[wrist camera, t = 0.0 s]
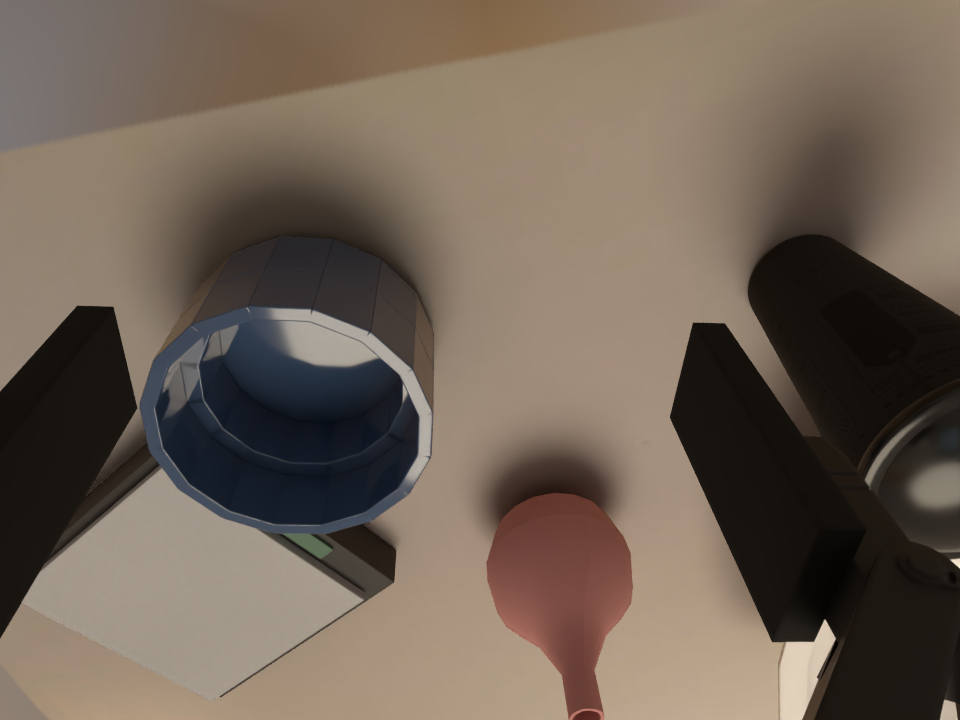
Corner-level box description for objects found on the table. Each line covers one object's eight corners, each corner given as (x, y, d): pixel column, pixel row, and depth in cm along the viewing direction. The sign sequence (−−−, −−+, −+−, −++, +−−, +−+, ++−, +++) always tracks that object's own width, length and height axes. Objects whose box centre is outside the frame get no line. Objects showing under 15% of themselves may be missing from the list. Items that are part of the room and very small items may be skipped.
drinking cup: (696, 342, 36) (930, 739, 19) (750, 193, 32) (1112, 526, 15) (839, 359, 37) (1186, 751, 20) (910, 217, 33) (1421, 553, 16)
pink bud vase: (474, 562, 43) (486, 765, 33) (492, 464, 39) (512, 660, 29) (600, 569, 44) (650, 769, 34) (631, 473, 40) (697, 667, 30)
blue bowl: (306, 179, 30) (274, 246, 24) (481, 348, 35) (489, 437, 29) (143, 335, 34) (81, 426, 28) (322, 469, 39) (301, 571, 33)
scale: (193, 402, 36) (174, 439, 33) (396, 549, 42) (394, 591, 40) (24, 550, 41) (-3, 593, 38) (230, 663, 47) (218, 707, 44)
